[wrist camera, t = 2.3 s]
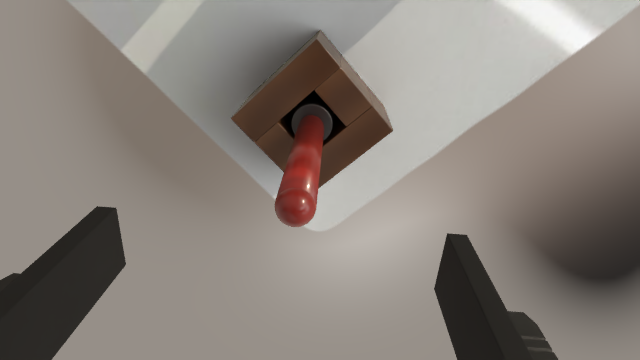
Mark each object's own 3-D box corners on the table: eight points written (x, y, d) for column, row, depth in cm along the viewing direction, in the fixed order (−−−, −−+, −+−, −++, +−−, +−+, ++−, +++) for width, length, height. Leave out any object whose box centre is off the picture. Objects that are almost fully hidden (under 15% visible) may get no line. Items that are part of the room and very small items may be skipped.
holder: (248, 97, 38) (230, 118, 31) (320, 29, 35) (316, 38, 28) (312, 164, 40) (307, 196, 34) (384, 106, 37) (393, 130, 31)
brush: (292, 100, 38) (244, 213, 19) (318, 77, 37) (295, 172, 18) (315, 125, 38) (291, 257, 20) (340, 103, 37) (342, 220, 19)
